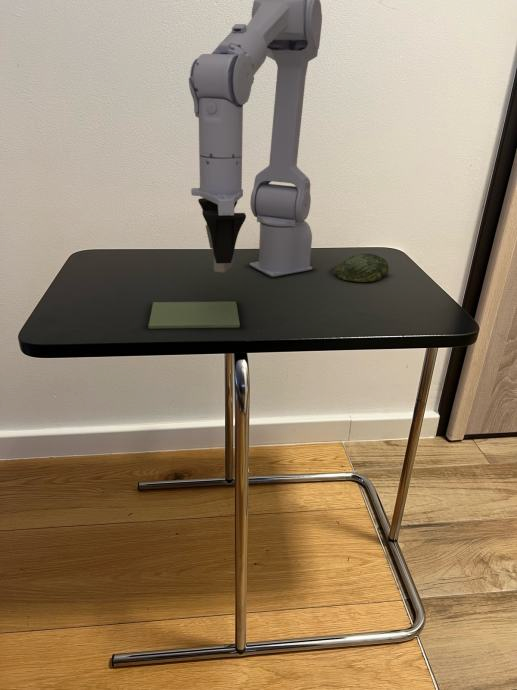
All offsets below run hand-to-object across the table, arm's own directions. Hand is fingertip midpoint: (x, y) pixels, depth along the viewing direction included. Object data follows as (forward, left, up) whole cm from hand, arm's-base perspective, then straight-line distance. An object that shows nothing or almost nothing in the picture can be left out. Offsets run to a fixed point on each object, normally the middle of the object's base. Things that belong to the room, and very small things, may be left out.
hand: (220, 254), depth 78 cm
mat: (+4, -2, -9) cm, 10 cm away
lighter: (0, 0, -3) cm, 3 cm away
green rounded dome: (-32, -4, -10) cm, 34 cm away
